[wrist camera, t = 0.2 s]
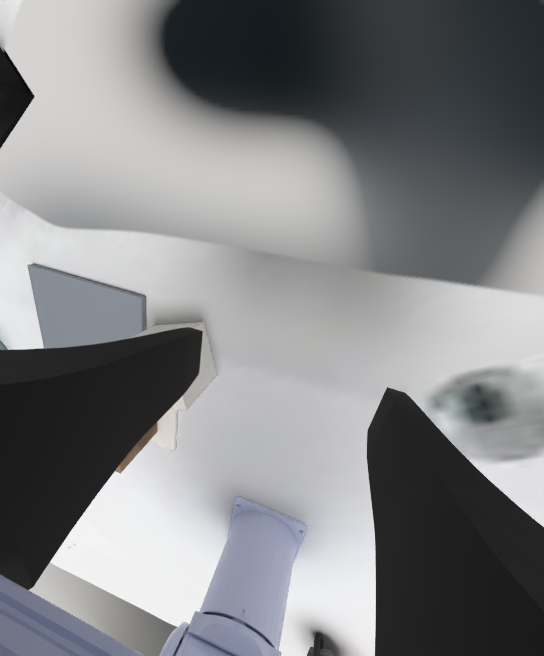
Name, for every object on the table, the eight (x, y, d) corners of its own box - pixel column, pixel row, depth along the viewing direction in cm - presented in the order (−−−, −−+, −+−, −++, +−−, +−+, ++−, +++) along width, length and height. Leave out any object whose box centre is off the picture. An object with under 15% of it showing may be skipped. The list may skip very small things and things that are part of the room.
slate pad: (147, 406, 27) (144, 409, 27) (53, 371, 29) (49, 373, 29) (145, 296, 22) (141, 297, 22) (33, 264, 24) (27, 264, 24)
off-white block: (217, 374, 23) (186, 410, 19) (170, 374, 25) (131, 407, 20) (204, 321, 22) (166, 347, 17) (154, 325, 23) (108, 349, 19)
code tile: (176, 448, 28) (173, 451, 28) (106, 421, 30) (103, 423, 30) (179, 380, 25) (176, 383, 24) (99, 353, 26) (95, 355, 26)
